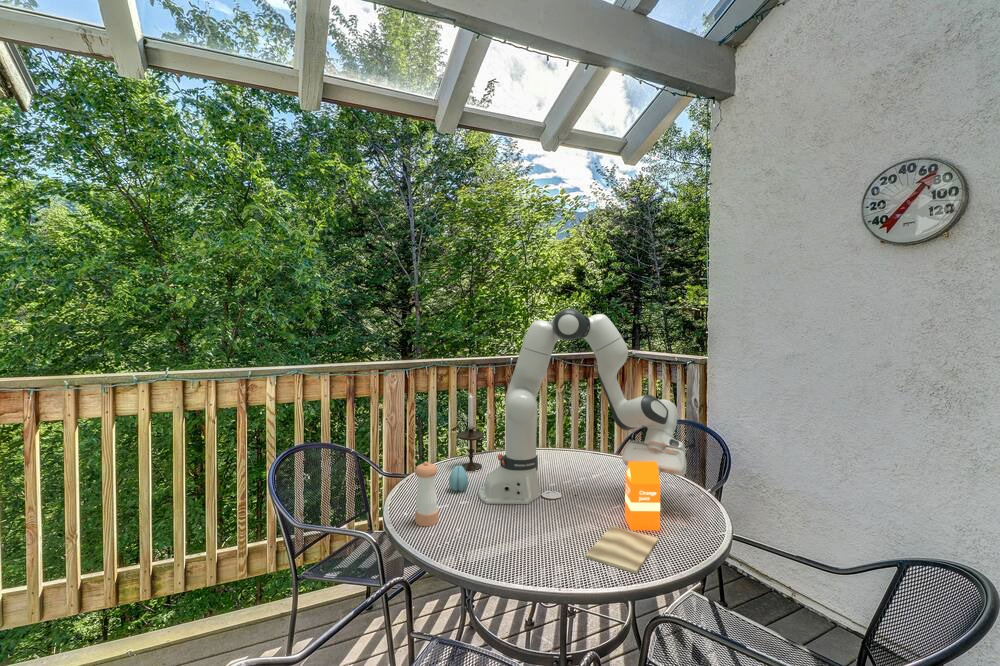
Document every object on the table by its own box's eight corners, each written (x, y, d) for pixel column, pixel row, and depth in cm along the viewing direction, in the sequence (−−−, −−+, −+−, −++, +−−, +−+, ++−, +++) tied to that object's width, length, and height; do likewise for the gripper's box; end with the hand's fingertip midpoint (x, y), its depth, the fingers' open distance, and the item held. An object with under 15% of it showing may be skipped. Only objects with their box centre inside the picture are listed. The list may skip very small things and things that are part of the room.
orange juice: (624, 518, 150) (625, 457, 149) (652, 518, 150) (653, 457, 149) (630, 530, 143) (631, 465, 141) (660, 530, 142) (661, 465, 141)
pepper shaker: (431, 528, 144) (430, 467, 143) (410, 524, 147) (409, 464, 146) (442, 518, 151) (441, 459, 150) (422, 514, 154) (421, 457, 153)
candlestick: (481, 473, 191) (480, 388, 189) (455, 471, 193) (454, 387, 191) (486, 464, 202) (485, 383, 200) (461, 463, 204) (461, 383, 202)
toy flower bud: (469, 460, 183) (467, 469, 170) (469, 483, 182) (467, 493, 170) (450, 460, 182) (447, 469, 170) (450, 483, 182) (448, 494, 170)
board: (636, 573, 120) (636, 570, 120) (585, 557, 127) (585, 554, 127) (658, 540, 136) (658, 538, 136) (611, 528, 144) (611, 525, 144)
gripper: (625, 434, 163) (615, 470, 156) (687, 444, 152) (680, 483, 144) (629, 443, 167) (620, 479, 160) (690, 453, 156) (683, 492, 148)
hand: (649, 481), depth 152 cm, fingers closed
